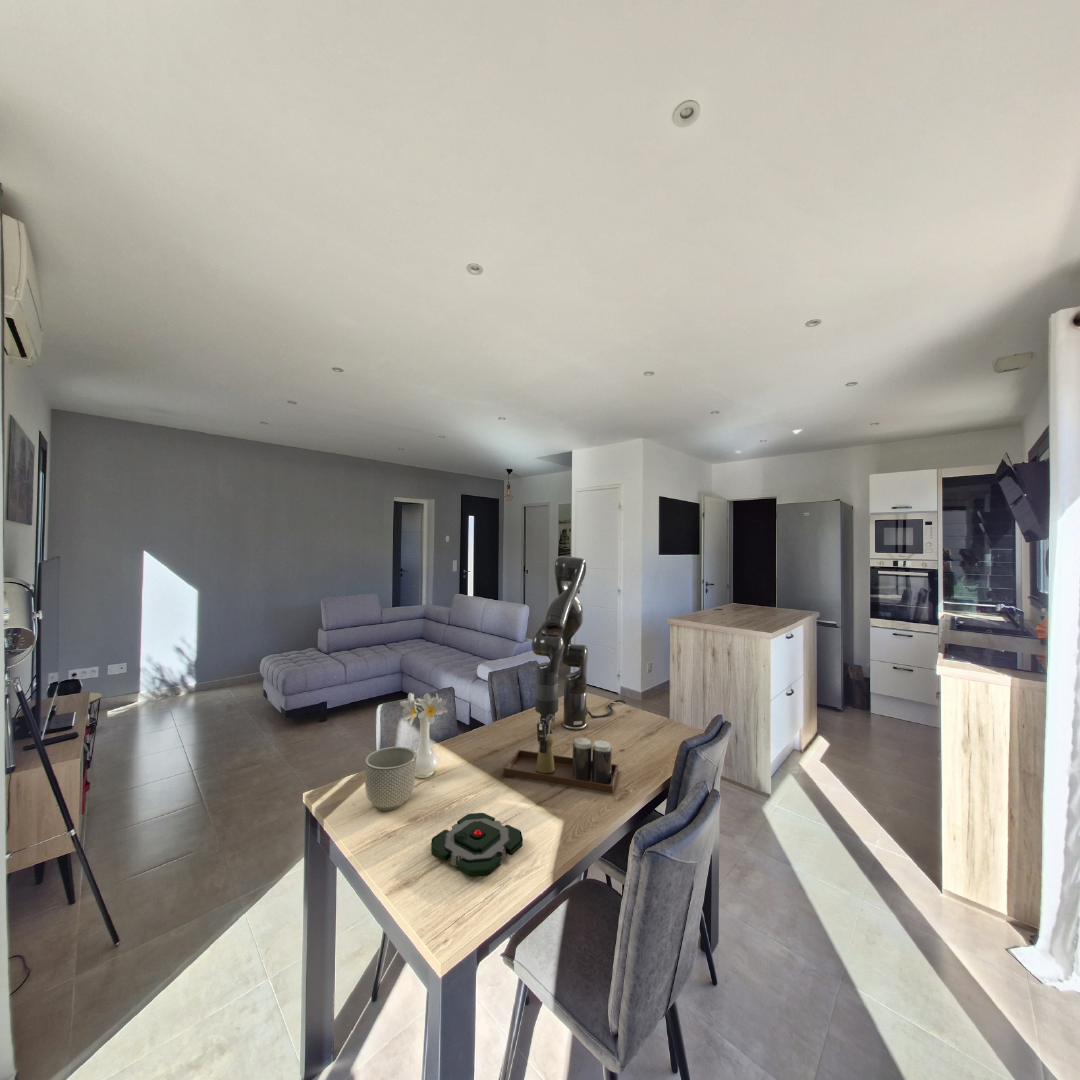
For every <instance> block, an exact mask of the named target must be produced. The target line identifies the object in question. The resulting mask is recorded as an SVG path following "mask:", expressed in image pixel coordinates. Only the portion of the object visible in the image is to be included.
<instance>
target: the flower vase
mask: <svg viewBox="0 0 1080 1080" xmlns="http://www.w3.org/2000/svg"><path fill="white" fill-rule="evenodd" d="M435 695H436V697H431V695H430V693H428V692H426V693H425V694H424V695H423V698H415V693H412V692H409V693H408V694H407V700H401V701H399V705H400V706H401V707H403V709H402V711H401V713H402V714H401V716H403V717H402V719H403V721H407V720H409V721H408V726H409V727H412V725H413V722H414V720H415V718H418V719H419V721H418V722H419V737H418V745H417V748H416V751H415V752H416V755H417V763H416V774H415V778H417V779H425V778H428V777H429V778H430V777H431V776H432V775H433V774H434V772H435V770H436V769H438V766H439V763H440V760H439V756H438V755H437V753H436V752H435V751H434V750H433V749H432V746H431V740H430V738H431V737H430V728H431V727H430V726H431V725H433V724H434V723H435V720H436V718H435V716H441V715H443V714H445V715H447V714H448V713H449V711H448V710H447V709H446V707H445V706H443V704H444V700H443V698H442V697H440V698H439V694H438V692H436V693H435Z"/></svg>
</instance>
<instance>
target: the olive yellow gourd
mask: <svg viewBox="0 0 1080 1080" xmlns="http://www.w3.org/2000/svg"><path fill="white" fill-rule="evenodd" d="M542 737H543V735H542ZM554 742H555V738H554V735H553V733H552V734H550V733H549V734H548V740H547V752H546V753H541V752H540V741H538V740H537V743H538V745H539V746H538V752H537V753H538V758H537V765H536V770H537V771H538V772H541V773H551V772H553V771H554V759H553V755H554V752H553V751H554V750H553V745H554Z"/></svg>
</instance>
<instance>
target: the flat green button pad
mask: <svg viewBox="0 0 1080 1080" xmlns="http://www.w3.org/2000/svg"><path fill="white" fill-rule="evenodd" d="M522 833H523V832H522V831H521V830H520V829H518V828H517V827H514V826H512V825H510V824H505V825H502V822H501V821H500V820H496V818H495V817H493V816H491V815H490V814H487V813H485V812H474V813H467V814H466V815H464V816H462V817H461V818H459V819H458V820H457V821H456V823H454V824H453V825H452V826H451V829H450V830H448V829H443V830H442V831H441V832H439V833H437V834H436V835H434V836H433V837H432V838H431V844H430V854H431V856H433V857H435V858H436V859H438V860H440V861H441V862H446V861H448V860H450V864H451V866H453V867H456V870H457V872H460V873H461V874H463V875H465V876H467V877H469V878H482V877H488V876H490V875H492V873H494V872H495V871H496V870H498V868H500V867H501V865H502V864H501V862H503V861H504V860H505V859H506V854H507V855H508V856H513V855H514V854H516V853H517V852H518V851H519V850H520V849H521V848H523V845H524V838H523V835H522Z"/></svg>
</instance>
